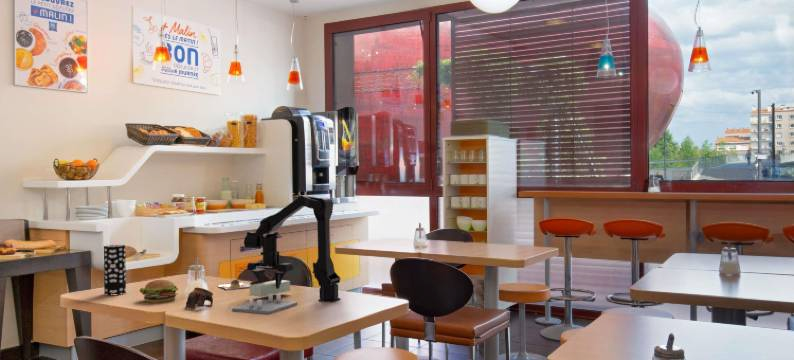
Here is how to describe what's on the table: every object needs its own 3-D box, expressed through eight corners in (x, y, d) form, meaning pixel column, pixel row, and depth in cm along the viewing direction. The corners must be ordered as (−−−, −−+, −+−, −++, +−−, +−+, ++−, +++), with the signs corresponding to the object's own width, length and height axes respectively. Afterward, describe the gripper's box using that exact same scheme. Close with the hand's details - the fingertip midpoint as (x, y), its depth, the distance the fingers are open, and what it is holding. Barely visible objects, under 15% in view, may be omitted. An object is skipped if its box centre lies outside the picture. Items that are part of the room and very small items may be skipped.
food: (172, 295, 274) (172, 276, 274) (181, 300, 262) (181, 280, 262) (137, 299, 266) (137, 279, 266) (145, 304, 254) (144, 284, 254)
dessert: (253, 288, 291) (253, 277, 291) (226, 291, 285) (226, 280, 285) (243, 285, 301) (243, 274, 301) (217, 287, 295) (217, 277, 295)
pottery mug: (180, 308, 250) (189, 287, 254) (204, 316, 254) (212, 296, 257) (188, 304, 240) (197, 283, 244) (213, 314, 244) (221, 292, 247)
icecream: (257, 278, 275) (284, 276, 288) (246, 272, 280) (272, 271, 292) (254, 294, 276) (280, 292, 288) (242, 288, 280) (269, 286, 292)
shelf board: (290, 290, 272) (290, 280, 272) (261, 296, 259) (261, 286, 259) (278, 289, 276) (278, 279, 276) (249, 295, 263) (249, 285, 263)
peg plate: (297, 304, 251) (297, 294, 251) (269, 314, 234) (268, 302, 234) (261, 301, 257) (261, 291, 257) (232, 310, 241) (231, 299, 241)
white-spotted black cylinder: (130, 293, 280) (129, 245, 280) (112, 296, 273) (111, 247, 273) (117, 291, 285) (117, 244, 285) (100, 294, 278) (99, 246, 278)
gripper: (300, 247, 271) (301, 286, 271) (262, 246, 279) (263, 283, 279) (285, 250, 261) (285, 290, 261) (245, 249, 268) (246, 288, 269)
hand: (270, 288), depth 268 cm, fingers closed on shelf board, 7 cm apart
